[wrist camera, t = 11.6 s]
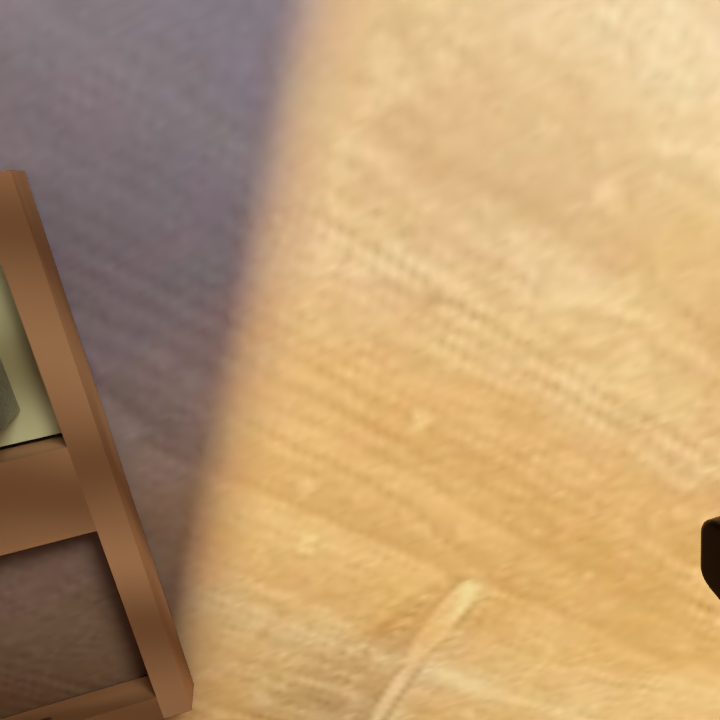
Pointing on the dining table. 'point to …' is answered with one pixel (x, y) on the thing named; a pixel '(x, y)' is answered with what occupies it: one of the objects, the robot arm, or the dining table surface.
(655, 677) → the dining table surface
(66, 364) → the wooden double frame
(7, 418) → the grey tall block
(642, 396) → the dining table surface
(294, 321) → the dining table surface
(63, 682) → the dining table surface
